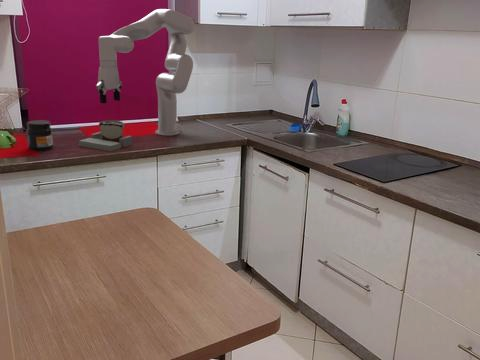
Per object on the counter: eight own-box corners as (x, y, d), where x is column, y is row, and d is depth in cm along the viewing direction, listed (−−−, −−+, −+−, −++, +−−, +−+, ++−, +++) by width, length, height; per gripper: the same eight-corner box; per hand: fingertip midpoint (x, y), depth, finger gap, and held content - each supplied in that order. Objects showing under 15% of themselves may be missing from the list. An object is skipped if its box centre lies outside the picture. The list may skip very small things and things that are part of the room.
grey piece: (101, 139, 235) (101, 131, 234) (132, 144, 228) (131, 136, 227) (79, 145, 221) (78, 137, 220) (111, 151, 214) (110, 142, 213)
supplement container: (55, 149, 213) (53, 123, 209) (30, 152, 208) (28, 125, 204) (50, 144, 221) (48, 119, 218) (26, 146, 216) (23, 120, 212)
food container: (128, 141, 232) (128, 121, 229) (124, 144, 226) (123, 123, 223) (104, 139, 234) (103, 119, 230) (99, 142, 228) (98, 121, 225)
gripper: (113, 62, 226) (115, 98, 231) (88, 64, 211) (91, 103, 216) (126, 63, 223) (128, 100, 228) (102, 66, 208) (104, 105, 213)
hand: (110, 101), depth 222 cm, fingers open, 9 cm apart
